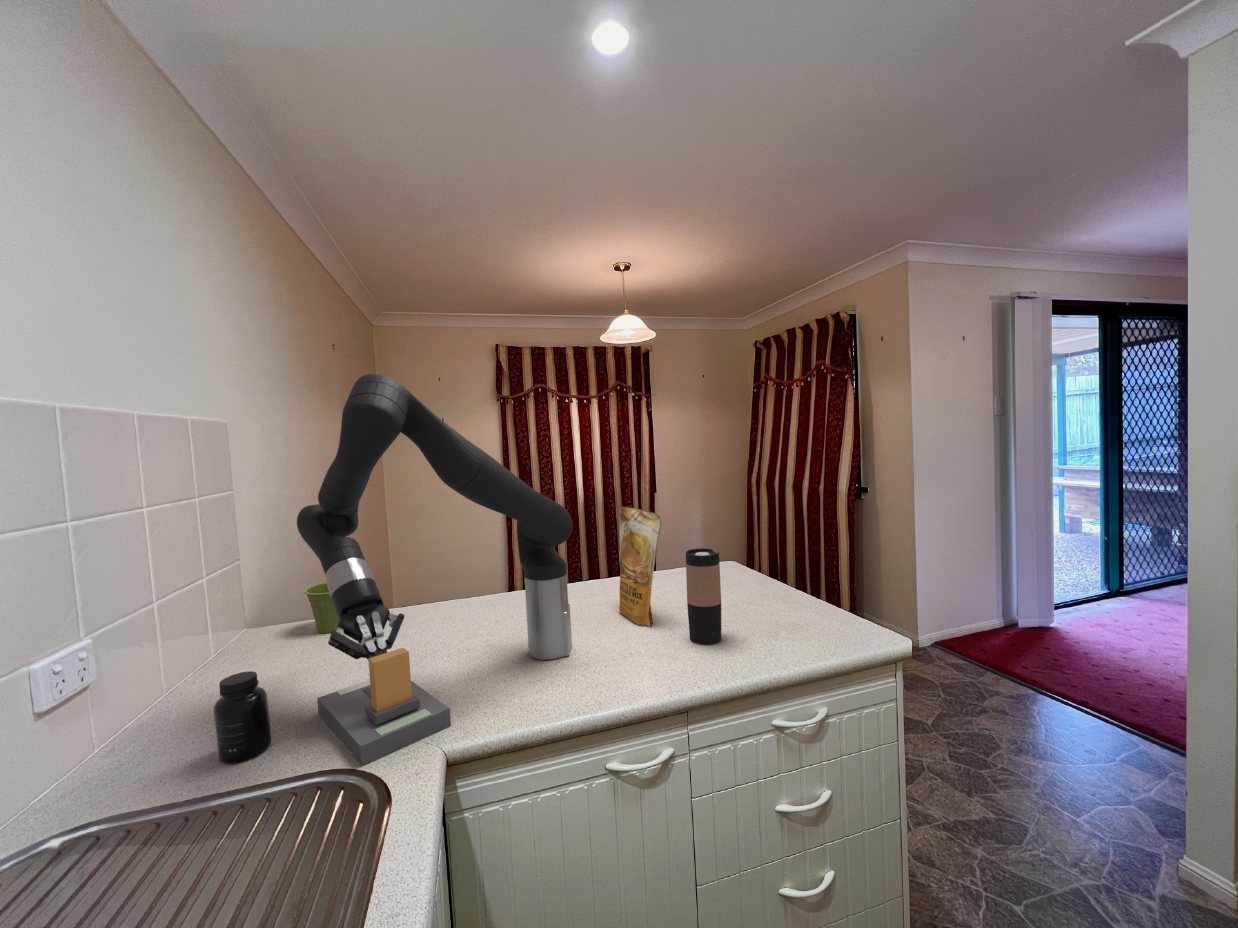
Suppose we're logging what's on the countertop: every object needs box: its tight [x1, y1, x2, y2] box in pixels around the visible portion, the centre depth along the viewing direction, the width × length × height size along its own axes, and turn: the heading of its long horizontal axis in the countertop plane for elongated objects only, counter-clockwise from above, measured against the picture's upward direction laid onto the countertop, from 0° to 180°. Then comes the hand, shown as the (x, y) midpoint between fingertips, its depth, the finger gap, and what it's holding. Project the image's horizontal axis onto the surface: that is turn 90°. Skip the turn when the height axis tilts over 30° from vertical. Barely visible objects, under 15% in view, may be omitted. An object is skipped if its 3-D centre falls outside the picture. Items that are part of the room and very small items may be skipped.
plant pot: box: [303, 581, 339, 634], centre depth 136 cm, size 12×12×11 cm
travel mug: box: [685, 547, 722, 646], centre depth 117 cm, size 8×8×20 cm
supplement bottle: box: [213, 670, 272, 765], centre depth 81 cm, size 7×7×12 cm
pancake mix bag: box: [618, 506, 662, 627], centre depth 133 cm, size 7×19×28 cm, turn 25°
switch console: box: [316, 678, 452, 767], centre depth 89 cm, size 22×14×3 cm, turn 45°
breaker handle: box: [365, 647, 420, 725], centre depth 85 cm, size 5×7×9 cm
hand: (384, 673), depth 87 cm, fingers closed
